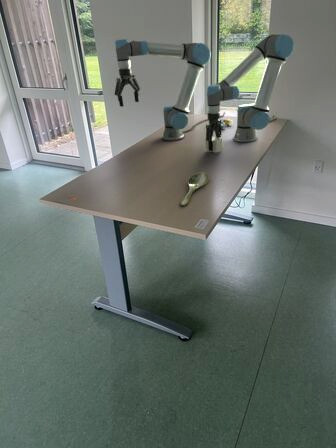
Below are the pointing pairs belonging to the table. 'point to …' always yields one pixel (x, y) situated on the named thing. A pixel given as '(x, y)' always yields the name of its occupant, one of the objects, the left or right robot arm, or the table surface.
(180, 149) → the table surface
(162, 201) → the table surface
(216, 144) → the block
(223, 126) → the spray gun
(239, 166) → the table surface
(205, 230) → the table surface
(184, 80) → the left robot arm
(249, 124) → the right robot arm
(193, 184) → the spoon
